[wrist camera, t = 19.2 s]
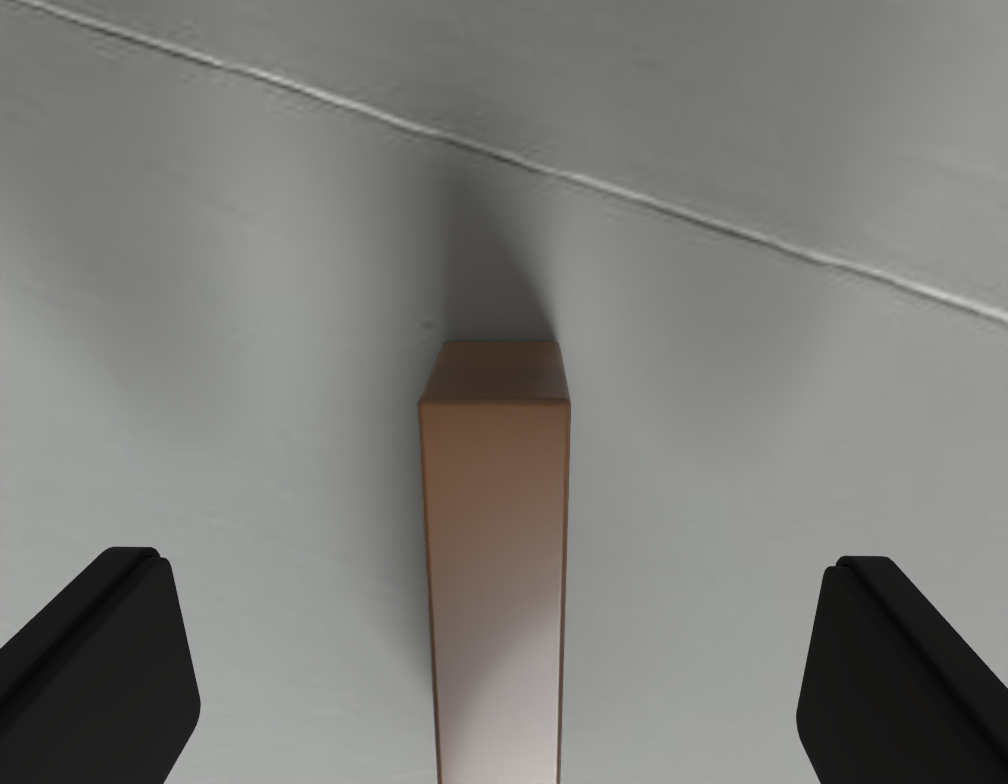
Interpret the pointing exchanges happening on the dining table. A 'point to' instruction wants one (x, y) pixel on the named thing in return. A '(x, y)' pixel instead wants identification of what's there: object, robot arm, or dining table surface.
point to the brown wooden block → (496, 557)
